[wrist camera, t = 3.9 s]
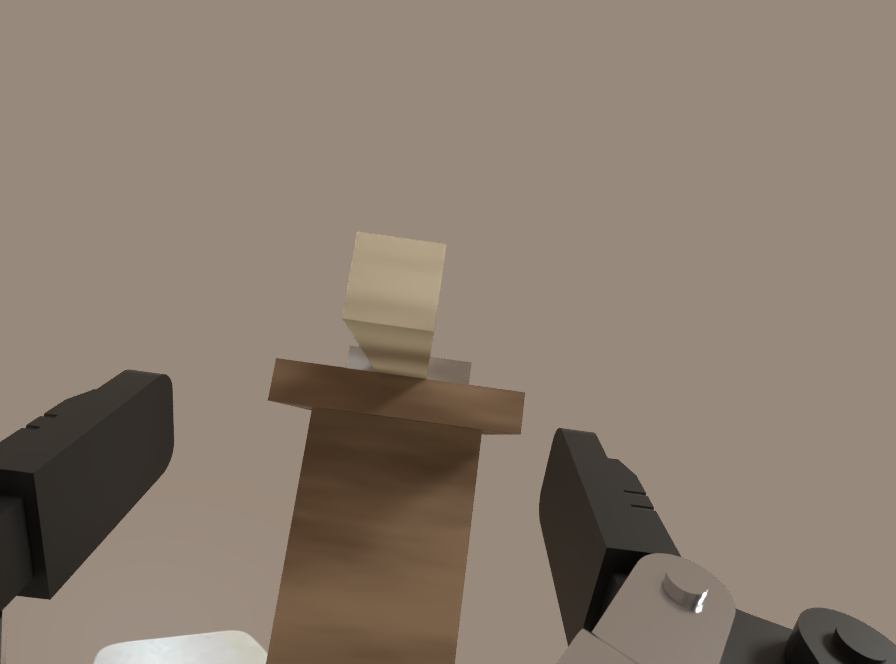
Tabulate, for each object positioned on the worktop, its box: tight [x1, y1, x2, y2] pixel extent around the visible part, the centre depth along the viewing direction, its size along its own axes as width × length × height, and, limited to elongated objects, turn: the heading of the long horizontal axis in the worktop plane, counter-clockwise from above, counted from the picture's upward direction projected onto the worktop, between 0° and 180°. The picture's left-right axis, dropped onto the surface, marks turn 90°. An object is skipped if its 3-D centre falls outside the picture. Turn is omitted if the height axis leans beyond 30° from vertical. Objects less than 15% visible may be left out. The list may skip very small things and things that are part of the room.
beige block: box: [342, 232, 471, 385], centre depth 26 cm, size 24×8×2 cm, turn 3°
